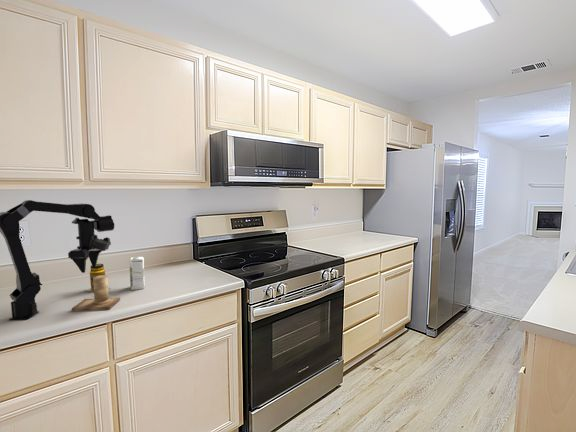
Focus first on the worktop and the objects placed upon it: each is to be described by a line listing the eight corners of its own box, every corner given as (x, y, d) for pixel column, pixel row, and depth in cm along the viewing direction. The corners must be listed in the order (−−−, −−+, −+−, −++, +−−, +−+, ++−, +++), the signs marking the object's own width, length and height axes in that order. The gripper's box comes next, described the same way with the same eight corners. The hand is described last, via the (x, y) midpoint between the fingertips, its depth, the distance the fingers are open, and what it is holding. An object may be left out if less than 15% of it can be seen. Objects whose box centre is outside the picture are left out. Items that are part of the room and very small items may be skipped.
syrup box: (131, 286, 152) (130, 257, 151) (145, 285, 154) (143, 256, 153) (130, 290, 147) (128, 259, 146) (144, 288, 149) (142, 258, 148)
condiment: (95, 293, 143) (93, 267, 142) (84, 290, 147) (82, 265, 146) (110, 288, 150) (109, 263, 148) (100, 285, 154) (98, 261, 153)
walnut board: (71, 311, 123) (71, 308, 123) (85, 301, 133) (84, 298, 133) (109, 309, 125) (109, 306, 125) (120, 300, 135) (120, 297, 135)
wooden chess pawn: (90, 305, 126) (88, 279, 124) (97, 299, 132) (95, 275, 130) (106, 304, 126) (105, 279, 125) (112, 299, 132) (111, 274, 131)
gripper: (96, 236, 125) (98, 275, 127) (116, 229, 143) (118, 263, 145) (66, 237, 124) (69, 276, 125) (89, 230, 142) (92, 264, 144)
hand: (89, 269), depth 135 cm, fingers open, 9 cm apart
